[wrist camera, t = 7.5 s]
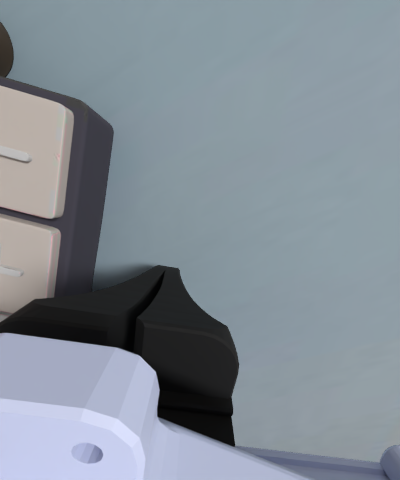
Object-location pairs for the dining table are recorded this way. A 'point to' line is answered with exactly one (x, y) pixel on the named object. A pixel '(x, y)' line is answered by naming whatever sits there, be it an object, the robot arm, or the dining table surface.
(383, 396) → the dining table surface
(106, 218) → the dining table surface
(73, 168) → the calculator
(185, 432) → the robot arm
